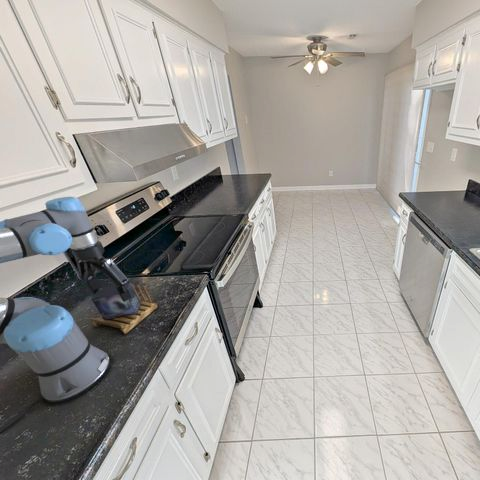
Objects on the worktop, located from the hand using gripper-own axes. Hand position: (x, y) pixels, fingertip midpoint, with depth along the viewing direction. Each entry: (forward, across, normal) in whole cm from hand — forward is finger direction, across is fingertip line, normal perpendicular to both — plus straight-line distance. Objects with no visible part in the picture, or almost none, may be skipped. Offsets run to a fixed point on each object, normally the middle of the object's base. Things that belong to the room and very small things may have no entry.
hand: (113, 296), depth 91 cm
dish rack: (+10, 0, -1) cm, 11 cm away
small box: (+8, 0, 0) cm, 8 cm away
